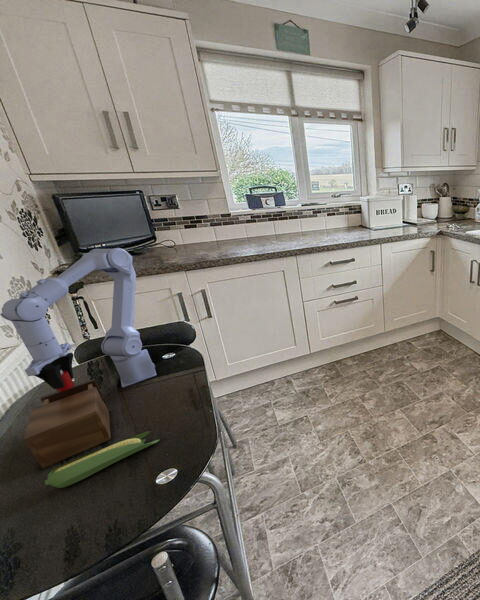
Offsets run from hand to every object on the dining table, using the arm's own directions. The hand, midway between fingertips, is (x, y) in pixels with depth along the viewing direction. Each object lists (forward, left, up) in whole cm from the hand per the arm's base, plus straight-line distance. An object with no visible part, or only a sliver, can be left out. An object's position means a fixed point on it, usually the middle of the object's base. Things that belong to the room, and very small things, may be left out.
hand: (63, 383), depth 92 cm
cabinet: (0, +14, -10) cm, 17 cm away
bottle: (0, 0, -1) cm, 1 cm away
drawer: (0, +3, -9) cm, 10 cm away
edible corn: (-6, +32, -11) cm, 34 cm away
